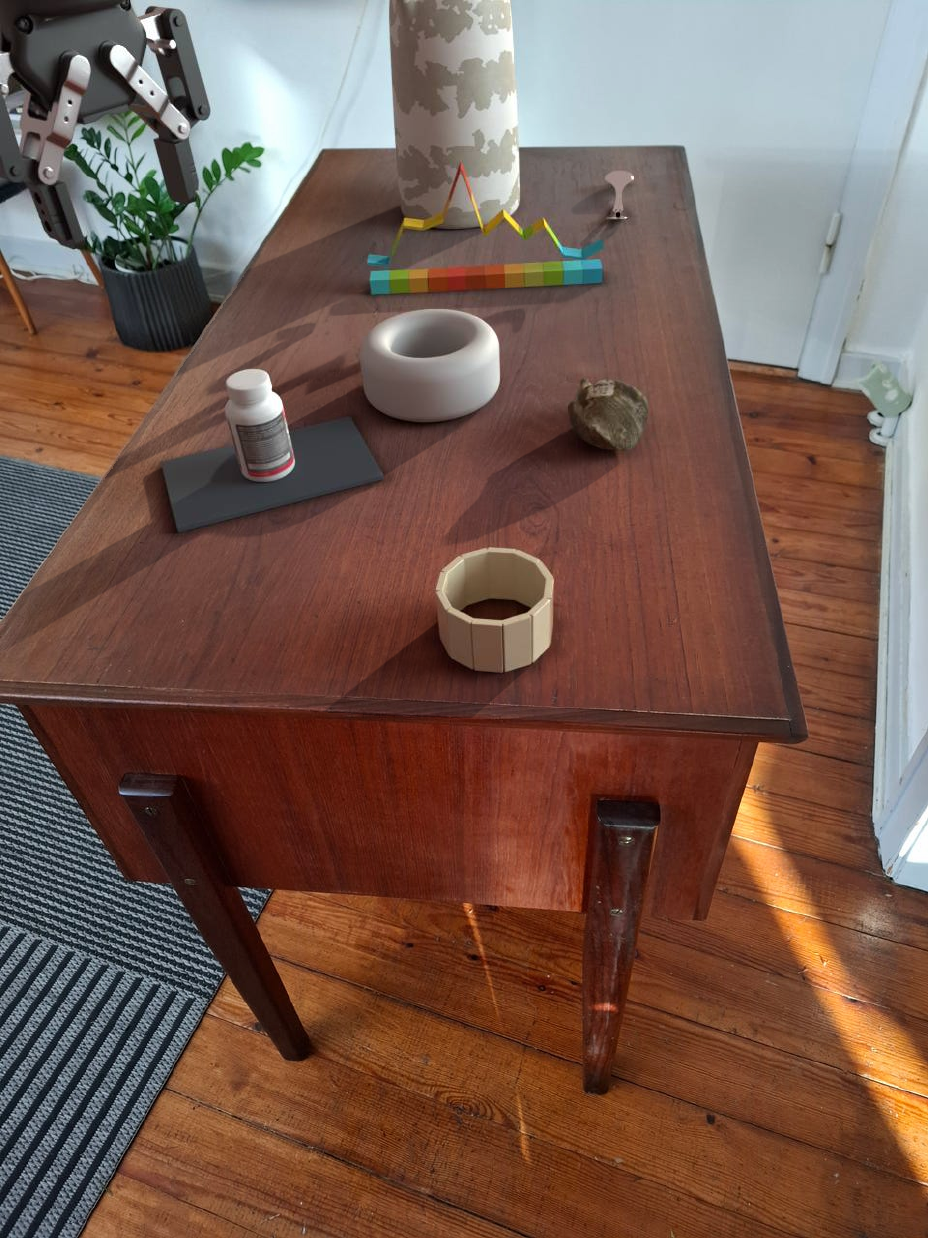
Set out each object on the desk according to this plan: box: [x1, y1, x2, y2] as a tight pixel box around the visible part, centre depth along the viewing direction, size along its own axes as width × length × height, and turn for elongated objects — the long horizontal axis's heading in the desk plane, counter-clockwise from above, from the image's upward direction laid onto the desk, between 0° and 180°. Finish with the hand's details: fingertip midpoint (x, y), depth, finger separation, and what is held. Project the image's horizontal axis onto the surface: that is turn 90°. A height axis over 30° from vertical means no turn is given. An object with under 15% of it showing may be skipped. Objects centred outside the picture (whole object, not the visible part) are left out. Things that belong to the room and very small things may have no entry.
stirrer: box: [604, 170, 636, 220], centre depth 135 cm, size 20×4×5 cm
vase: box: [388, 0, 521, 230], centre depth 126 cm, size 20×19×38 cm
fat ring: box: [358, 308, 501, 423], centre depth 97 cm, size 15×15×7 cm
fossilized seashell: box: [567, 377, 650, 452], centre depth 89 cm, size 8×7×10 cm
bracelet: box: [434, 547, 555, 674], centre depth 69 cm, size 9×9×5 cm
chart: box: [367, 162, 604, 295], centre depth 113 cm, size 30×3×15 cm, turn 90°
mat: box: [160, 416, 384, 533], centre depth 89 cm, size 20×12×1 cm, turn 111°
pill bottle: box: [224, 368, 295, 482], centre depth 85 cm, size 5×5×10 cm
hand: (130, 222), depth 56 cm, fingers open, 8 cm apart
